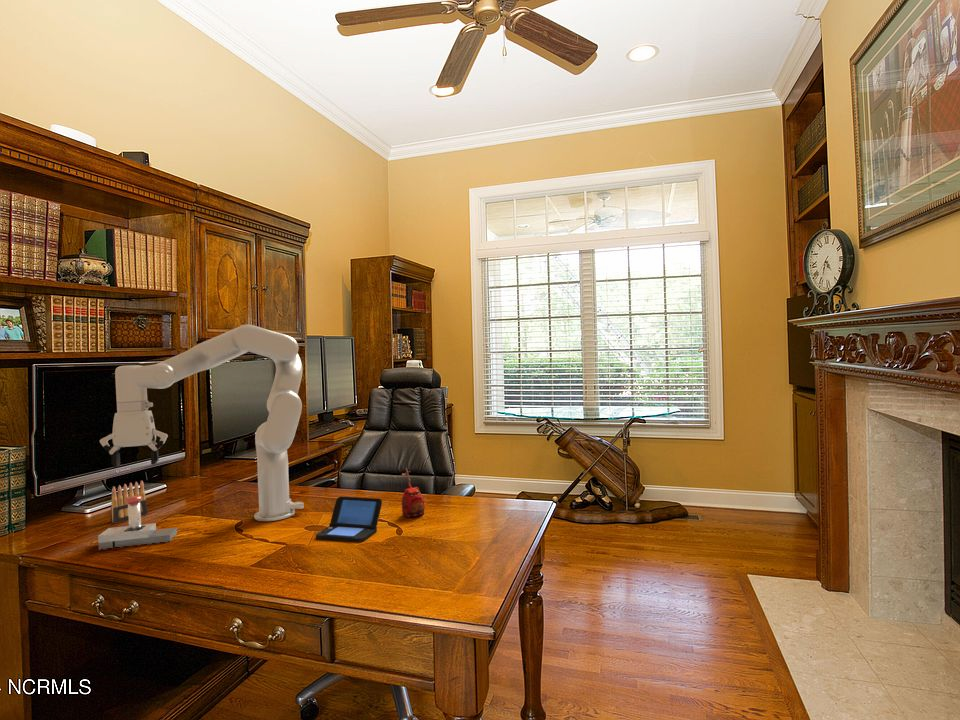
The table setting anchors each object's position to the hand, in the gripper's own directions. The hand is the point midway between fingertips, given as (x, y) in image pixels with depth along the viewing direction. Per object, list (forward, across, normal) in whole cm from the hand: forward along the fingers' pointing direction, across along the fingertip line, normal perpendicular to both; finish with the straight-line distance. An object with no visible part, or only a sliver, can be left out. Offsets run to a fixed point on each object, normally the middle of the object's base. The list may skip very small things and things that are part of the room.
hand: (135, 465), depth 154 cm
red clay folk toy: (+23, -80, +6) cm, 84 cm away
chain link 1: (+22, +3, +1) cm, 23 cm away
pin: (+22, +1, +1) cm, 22 cm away
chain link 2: (+22, -2, +1) cm, 23 cm away
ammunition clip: (+23, +12, -27) cm, 37 cm away
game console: (+23, -60, +16) cm, 66 cm away
